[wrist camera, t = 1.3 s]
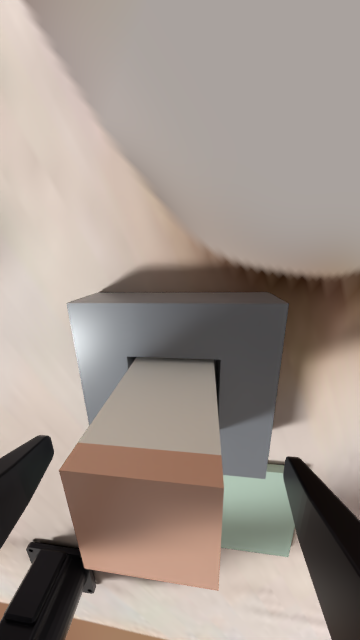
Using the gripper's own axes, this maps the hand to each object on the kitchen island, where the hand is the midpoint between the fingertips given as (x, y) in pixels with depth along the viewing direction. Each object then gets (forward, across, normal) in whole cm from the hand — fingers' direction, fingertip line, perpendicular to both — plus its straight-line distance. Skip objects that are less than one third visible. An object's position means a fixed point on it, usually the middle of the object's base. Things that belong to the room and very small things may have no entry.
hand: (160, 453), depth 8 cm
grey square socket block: (+6, 0, 0) cm, 6 cm away
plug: (+6, 0, 0) cm, 6 cm away
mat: (+6, -4, +12) cm, 14 cm away
